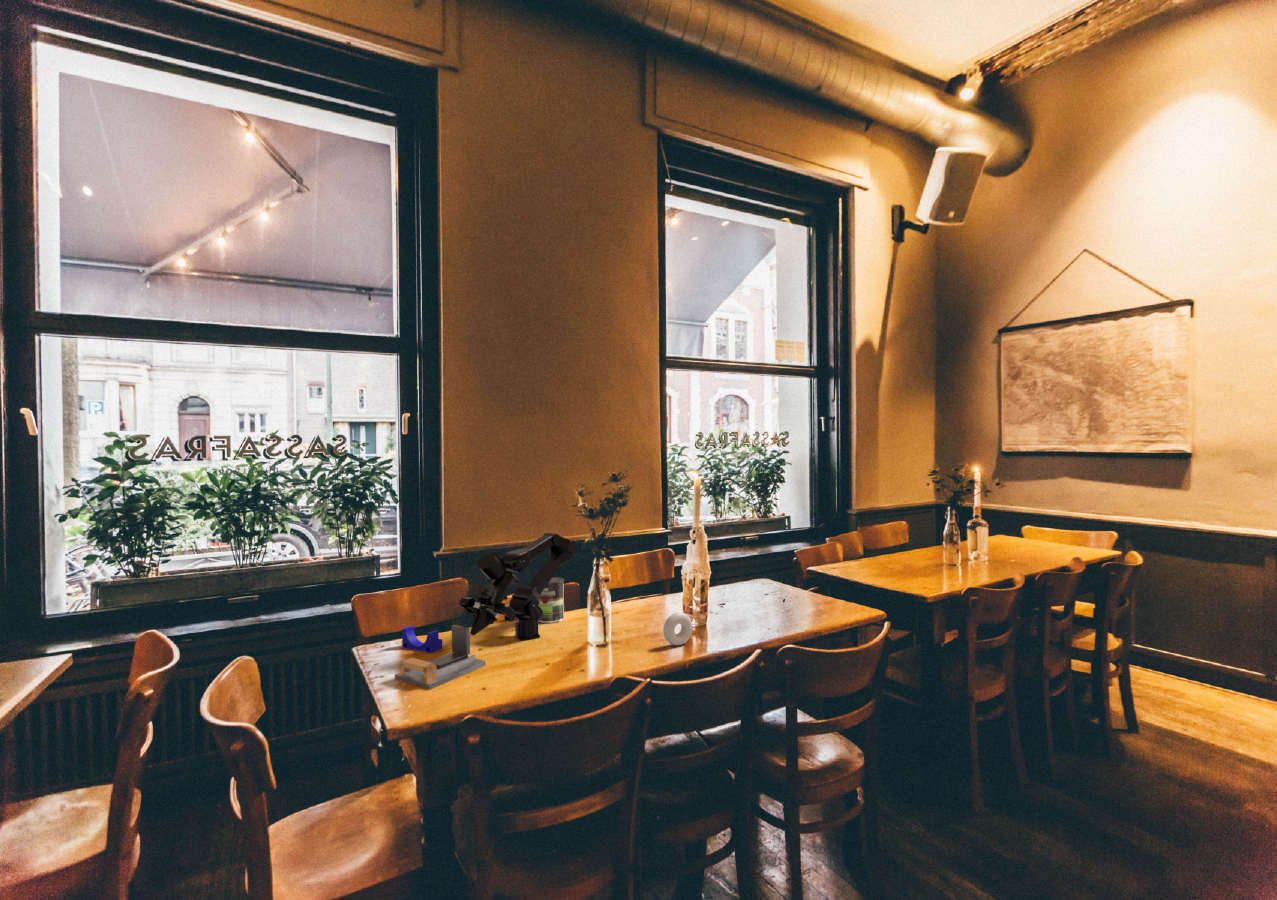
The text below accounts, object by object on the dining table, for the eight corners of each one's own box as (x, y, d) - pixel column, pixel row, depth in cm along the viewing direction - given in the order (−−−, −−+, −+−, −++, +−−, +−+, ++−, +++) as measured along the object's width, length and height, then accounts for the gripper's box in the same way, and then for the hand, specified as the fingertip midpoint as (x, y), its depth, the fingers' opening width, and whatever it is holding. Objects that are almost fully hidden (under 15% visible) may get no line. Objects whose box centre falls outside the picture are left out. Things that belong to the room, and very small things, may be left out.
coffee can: (559, 624, 205) (558, 583, 205) (530, 623, 207) (530, 582, 207) (568, 615, 216) (567, 576, 216) (540, 614, 217) (540, 576, 217)
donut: (667, 649, 178) (666, 616, 177) (661, 646, 180) (660, 613, 180) (694, 643, 183) (694, 611, 182) (688, 640, 186) (687, 608, 185)
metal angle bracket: (455, 656, 170) (454, 624, 170) (470, 659, 167) (469, 627, 167) (426, 667, 162) (425, 634, 162) (441, 671, 159) (440, 637, 159)
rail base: (451, 656, 174) (451, 639, 174) (485, 665, 167) (485, 647, 167) (394, 678, 158) (394, 660, 158) (430, 689, 151) (429, 669, 151)
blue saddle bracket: (442, 649, 182) (442, 629, 182) (431, 653, 178) (431, 633, 178) (413, 643, 187) (413, 624, 187) (402, 648, 183) (402, 628, 183)
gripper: (462, 570, 181) (433, 615, 172) (508, 576, 172) (479, 624, 162) (482, 590, 188) (455, 635, 179) (527, 597, 178) (501, 645, 169)
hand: (471, 634), depth 172 cm, fingers closed
